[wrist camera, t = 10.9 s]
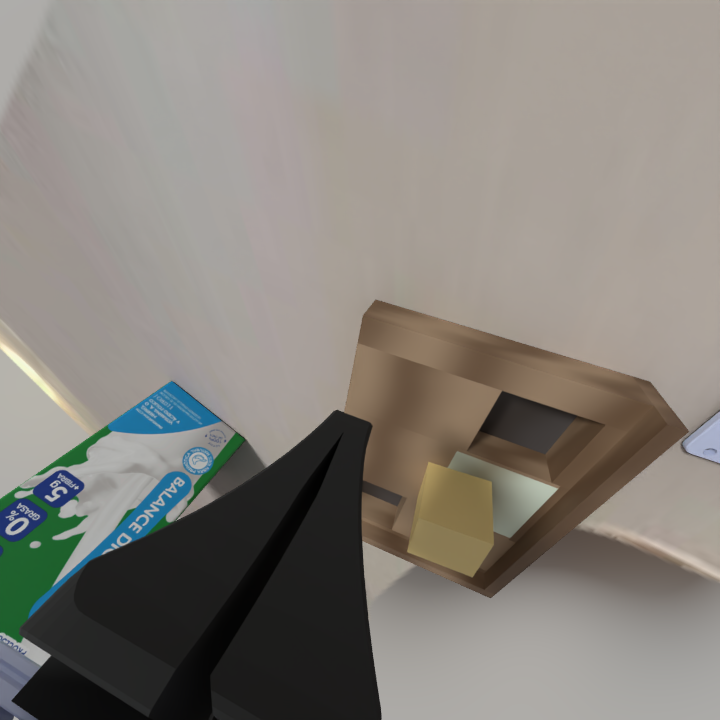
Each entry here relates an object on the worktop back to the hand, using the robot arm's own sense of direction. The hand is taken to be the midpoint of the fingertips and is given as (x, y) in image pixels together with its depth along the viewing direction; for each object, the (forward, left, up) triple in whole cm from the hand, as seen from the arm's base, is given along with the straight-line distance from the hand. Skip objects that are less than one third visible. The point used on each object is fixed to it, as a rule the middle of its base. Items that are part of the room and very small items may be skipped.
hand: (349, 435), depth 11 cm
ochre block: (-6, +10, -7) cm, 14 cm away
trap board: (-5, +9, -9) cm, 14 cm away
